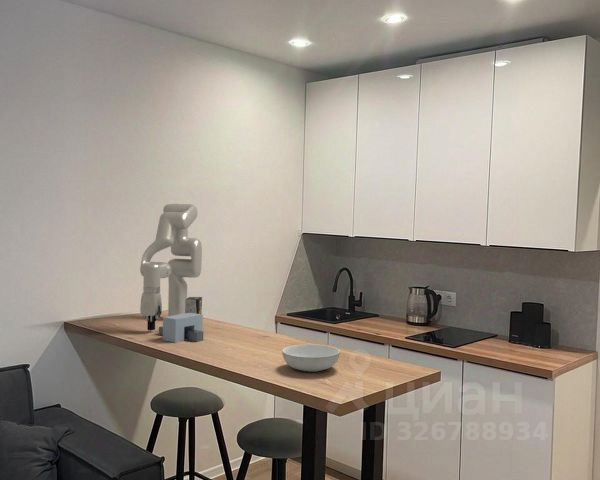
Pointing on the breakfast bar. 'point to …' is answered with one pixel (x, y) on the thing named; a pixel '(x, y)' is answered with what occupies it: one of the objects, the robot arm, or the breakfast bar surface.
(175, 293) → the robot arm
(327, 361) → the serving bowl
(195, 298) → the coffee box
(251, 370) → the breakfast bar surface
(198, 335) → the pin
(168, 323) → the cross-hole block
